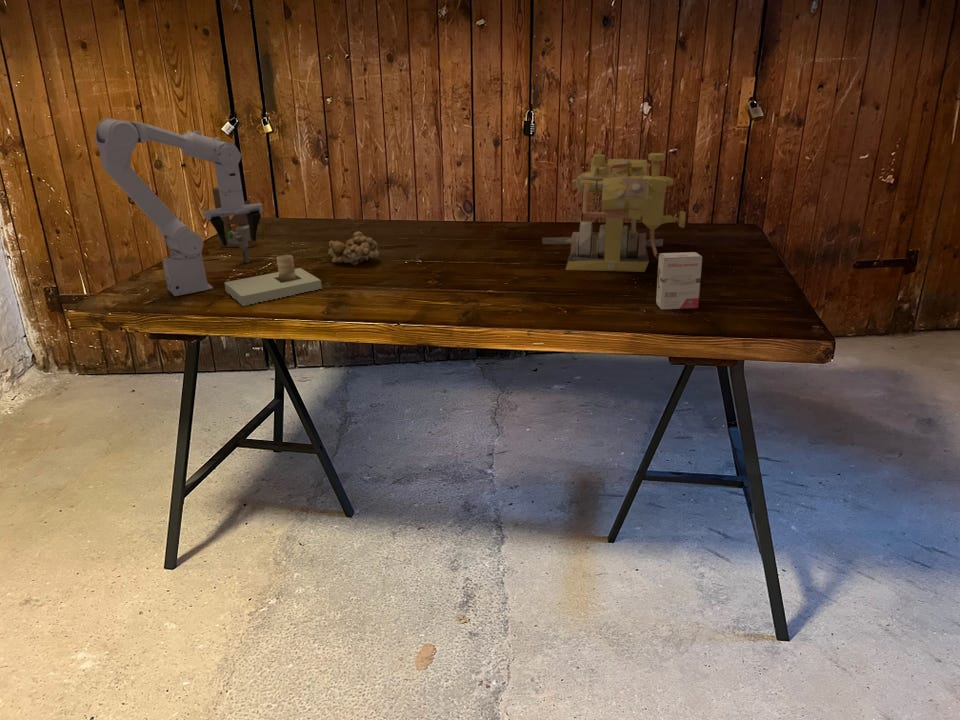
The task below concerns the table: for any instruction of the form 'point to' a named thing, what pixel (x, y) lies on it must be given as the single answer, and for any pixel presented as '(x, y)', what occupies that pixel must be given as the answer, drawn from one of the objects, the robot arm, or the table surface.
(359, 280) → the table surface
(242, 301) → the socket board
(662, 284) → the ink box
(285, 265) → the birch peg
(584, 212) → the mechanical engine
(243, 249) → the mechanical component
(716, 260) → the table surface
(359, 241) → the mineral formation
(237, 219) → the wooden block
